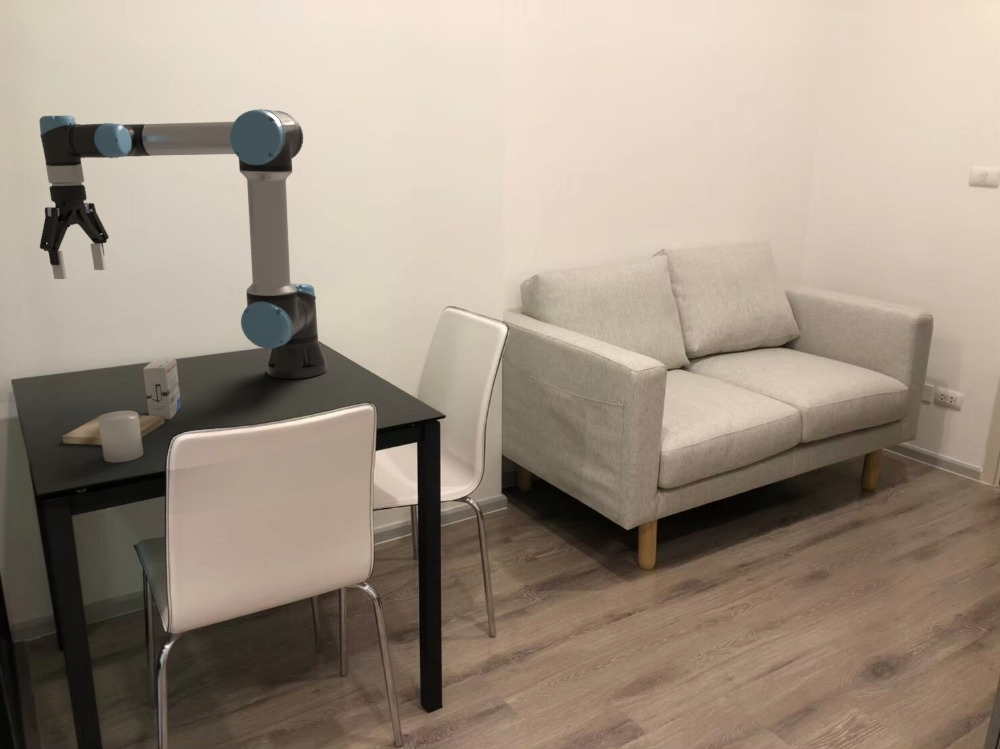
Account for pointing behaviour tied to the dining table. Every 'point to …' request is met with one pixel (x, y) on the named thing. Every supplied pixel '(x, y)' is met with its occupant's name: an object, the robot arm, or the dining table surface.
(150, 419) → the birch board
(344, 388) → the dining table surface
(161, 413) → the ink box
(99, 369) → the dining table surface
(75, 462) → the dining table surface
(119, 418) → the white frosted cylinder
